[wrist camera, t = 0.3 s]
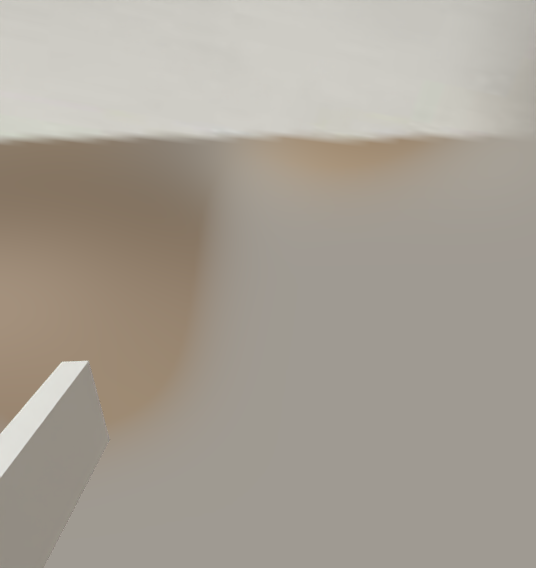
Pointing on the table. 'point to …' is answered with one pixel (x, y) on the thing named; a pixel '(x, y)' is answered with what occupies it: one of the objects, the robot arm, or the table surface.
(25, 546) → the robot arm
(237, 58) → the table surface
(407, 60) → the table surface
